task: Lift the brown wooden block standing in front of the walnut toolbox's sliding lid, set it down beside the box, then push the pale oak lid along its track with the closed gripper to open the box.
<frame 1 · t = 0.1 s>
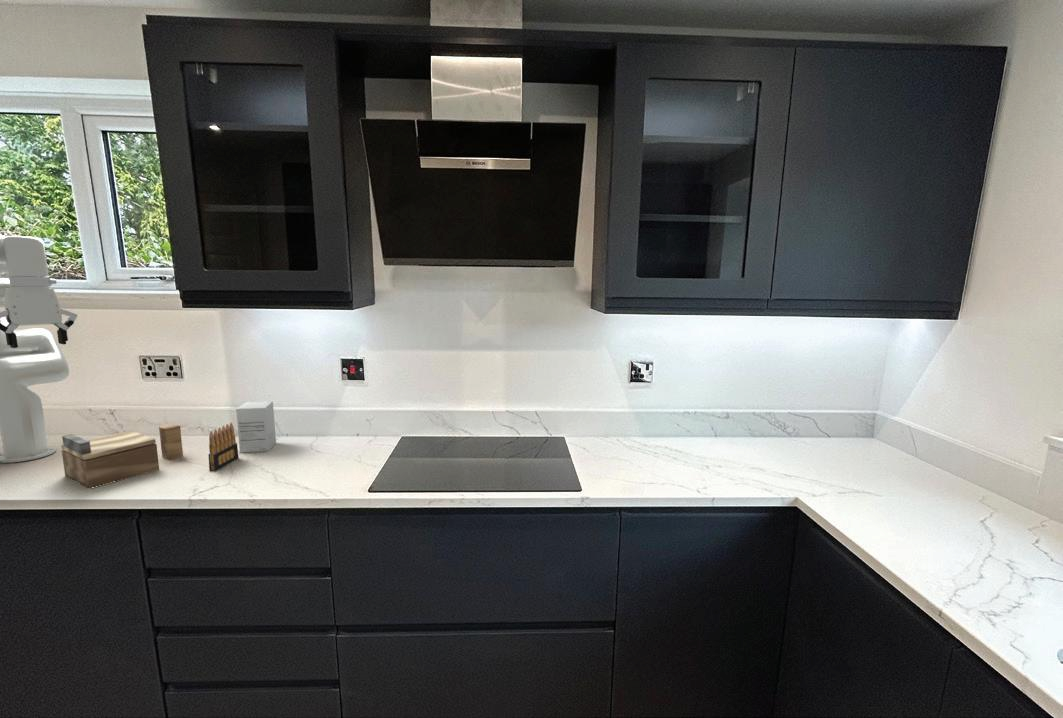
hand: (39, 345, 130), 37 cm above the worktop, tool pointing down, fingers open, 9 cm apart
brown wooden block: (172, 456, 149), on the worktop
supplement box: (258, 448, 159), on the worktop
ammunition clip: (224, 465, 144), on the worktop
lid: (109, 439, 135), point 10 cm above the worktop, slide at 0.0 cm
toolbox: (113, 472, 136), on the worktop
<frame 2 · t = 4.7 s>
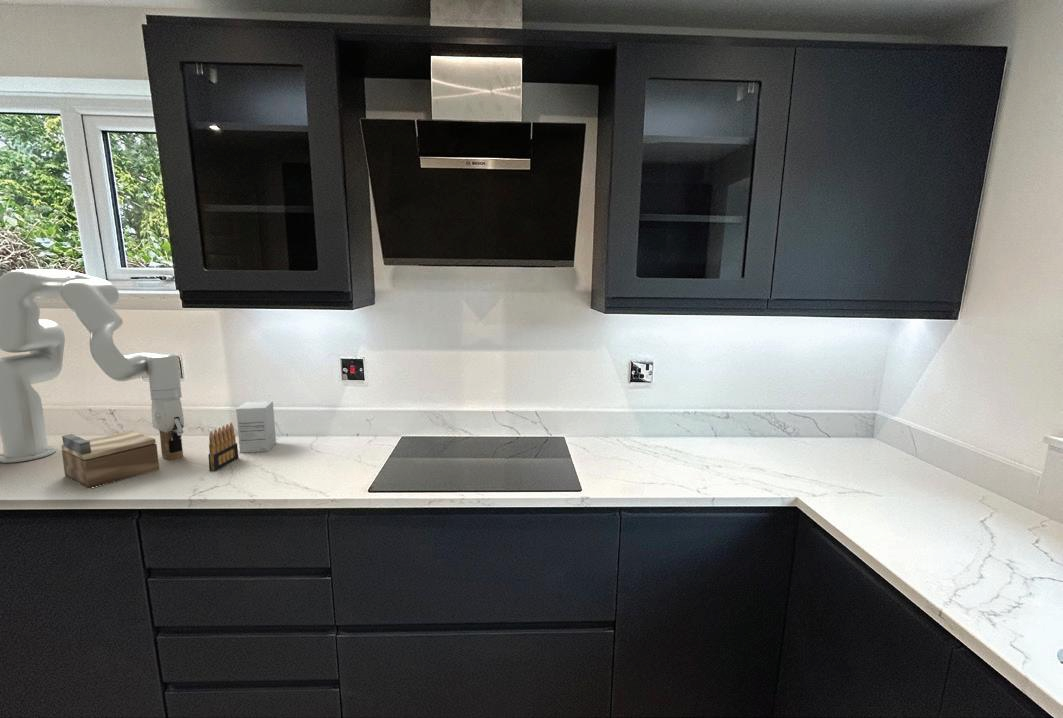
hand: (172, 449, 149), 2 cm above the worktop, tool pointing down, fingers closed on brown wooden block, 4 cm apart
brown wooden block: (172, 456, 149), on the worktop, touching gripper
everything else where it was.
when the fingers open (4 cm above the worktop, at t = 13.2 s): brown wooden block drops 1 cm, on the worktop.
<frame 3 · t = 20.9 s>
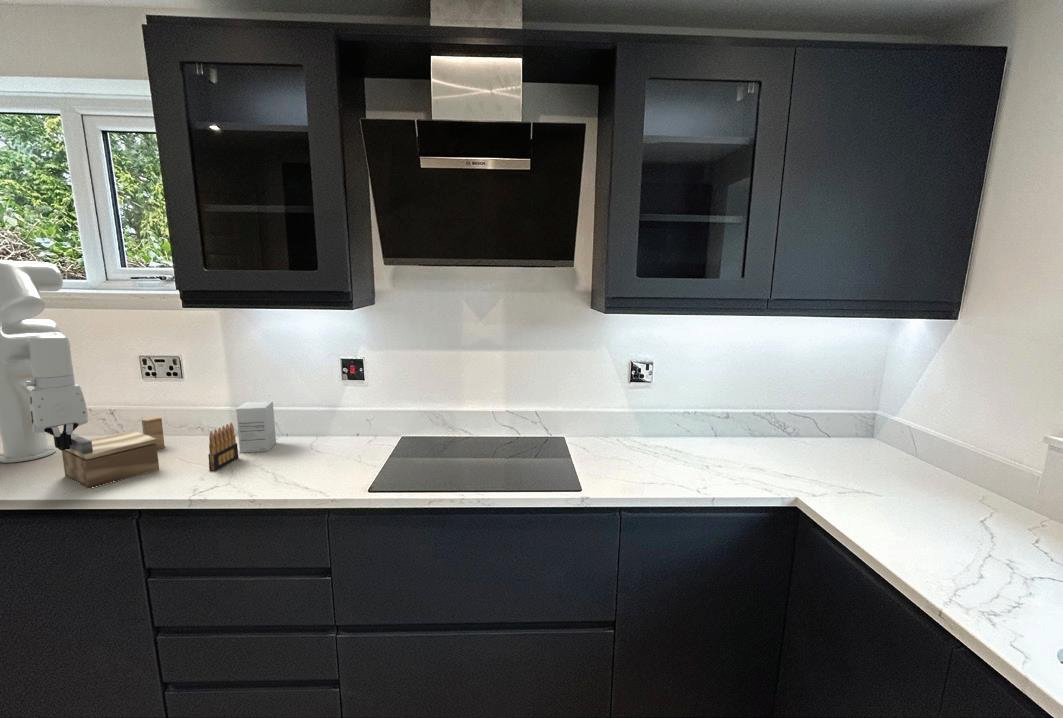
hand: (64, 448, 126), 10 cm above the worktop, tool pointing down, fingers closed
brown wooden block: (154, 447, 157), on the worktop
lid: (110, 438, 135), point 10 cm above the worktop, slide at 0.4 cm, touching gripper
everything else where it was.
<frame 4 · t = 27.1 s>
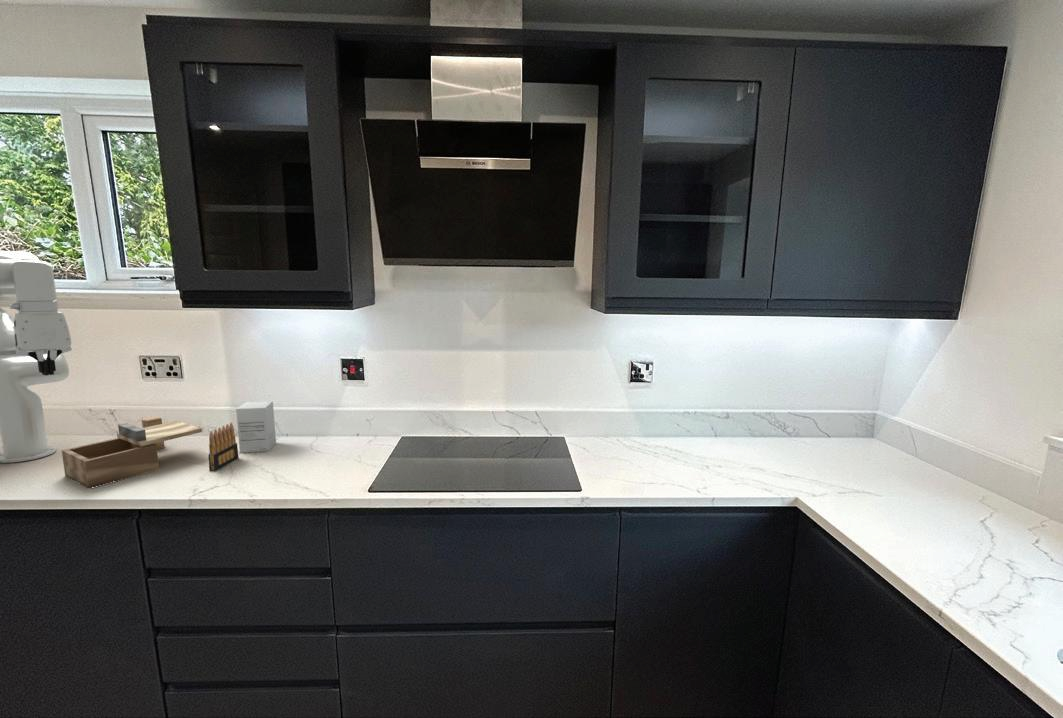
hand: (48, 374, 130), 29 cm above the worktop, tool pointing down, fingers closed
lid: (159, 428, 145), point 10 cm above the worktop, slide at 12.4 cm
everything else where it was.
at the end: lid slide at 12.4 cm; brown wooden block inside the target area (0.0 cm from its centre), on the worktop; brown wooden block tilted 0° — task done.
